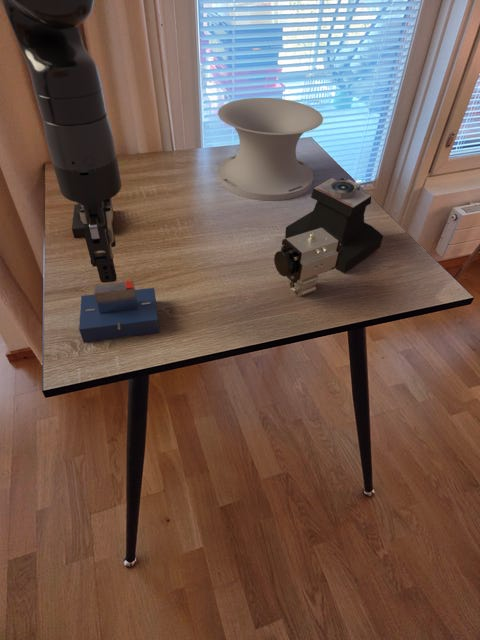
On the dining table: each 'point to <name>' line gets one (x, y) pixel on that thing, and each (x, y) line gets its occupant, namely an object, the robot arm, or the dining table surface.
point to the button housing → (79, 222)
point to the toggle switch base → (119, 318)
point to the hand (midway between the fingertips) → (109, 262)
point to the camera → (341, 220)
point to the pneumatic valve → (308, 258)
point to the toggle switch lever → (115, 297)
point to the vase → (267, 148)
